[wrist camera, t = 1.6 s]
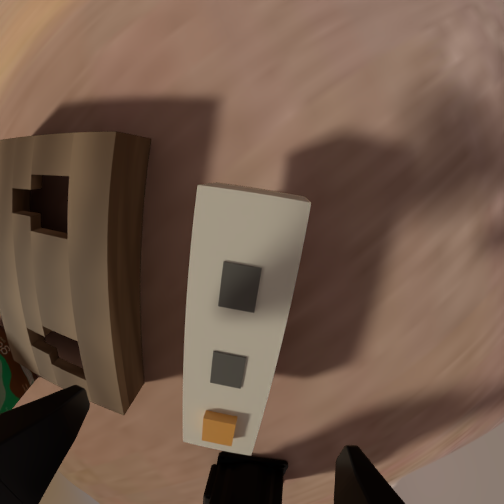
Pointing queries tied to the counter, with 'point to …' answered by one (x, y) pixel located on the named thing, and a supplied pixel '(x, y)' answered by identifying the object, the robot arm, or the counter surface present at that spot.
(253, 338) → the power strip
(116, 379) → the keyhole board
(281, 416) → the counter surface
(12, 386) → the food container
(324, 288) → the counter surface
